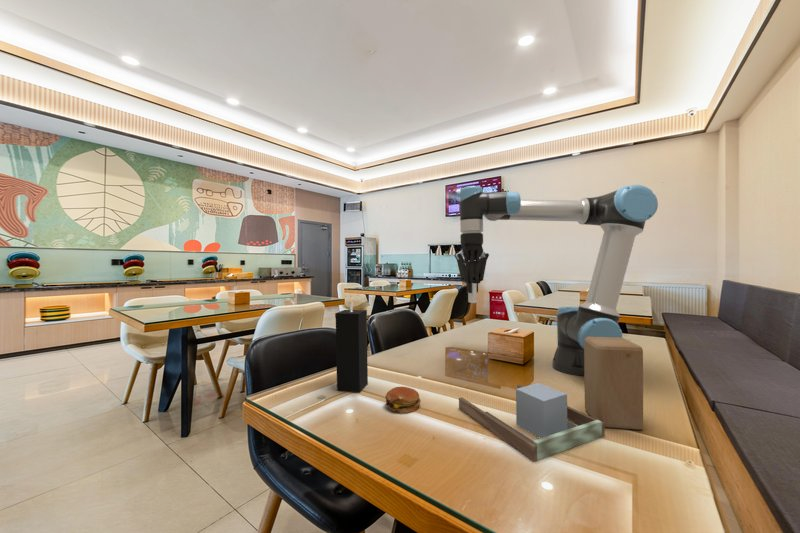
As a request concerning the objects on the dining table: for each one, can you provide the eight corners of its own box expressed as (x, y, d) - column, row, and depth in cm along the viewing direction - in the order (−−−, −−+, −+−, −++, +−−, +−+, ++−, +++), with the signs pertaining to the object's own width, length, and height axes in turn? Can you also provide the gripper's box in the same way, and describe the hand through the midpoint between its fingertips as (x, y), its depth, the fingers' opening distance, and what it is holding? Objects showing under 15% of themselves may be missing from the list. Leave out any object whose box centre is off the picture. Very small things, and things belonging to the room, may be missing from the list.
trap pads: (527, 401, 92) (527, 401, 92) (578, 427, 78) (578, 426, 78) (476, 415, 85) (476, 414, 85) (522, 446, 70) (522, 445, 70)
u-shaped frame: (519, 394, 98) (519, 382, 98) (604, 435, 74) (604, 420, 74) (458, 408, 89) (458, 396, 89) (533, 461, 65) (533, 444, 65)
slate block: (538, 417, 83) (538, 382, 83) (567, 431, 76) (567, 394, 76) (516, 425, 80) (516, 388, 79) (544, 441, 72) (543, 401, 72)
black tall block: (336, 391, 102) (334, 302, 102) (346, 381, 110) (344, 299, 109) (359, 393, 100) (358, 303, 100) (368, 383, 108) (366, 300, 108)
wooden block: (645, 431, 75) (645, 346, 75) (598, 428, 77) (597, 345, 77) (624, 412, 85) (624, 336, 85) (583, 409, 87) (582, 335, 87)
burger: (414, 397, 97) (414, 382, 97) (424, 411, 88) (424, 394, 87) (382, 401, 94) (382, 385, 94) (388, 416, 85) (388, 399, 85)
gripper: (480, 234, 116) (480, 300, 116) (449, 233, 110) (450, 302, 111) (494, 232, 109) (495, 302, 109) (462, 231, 103) (463, 305, 104)
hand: (472, 302), depth 110 cm, fingers closed
